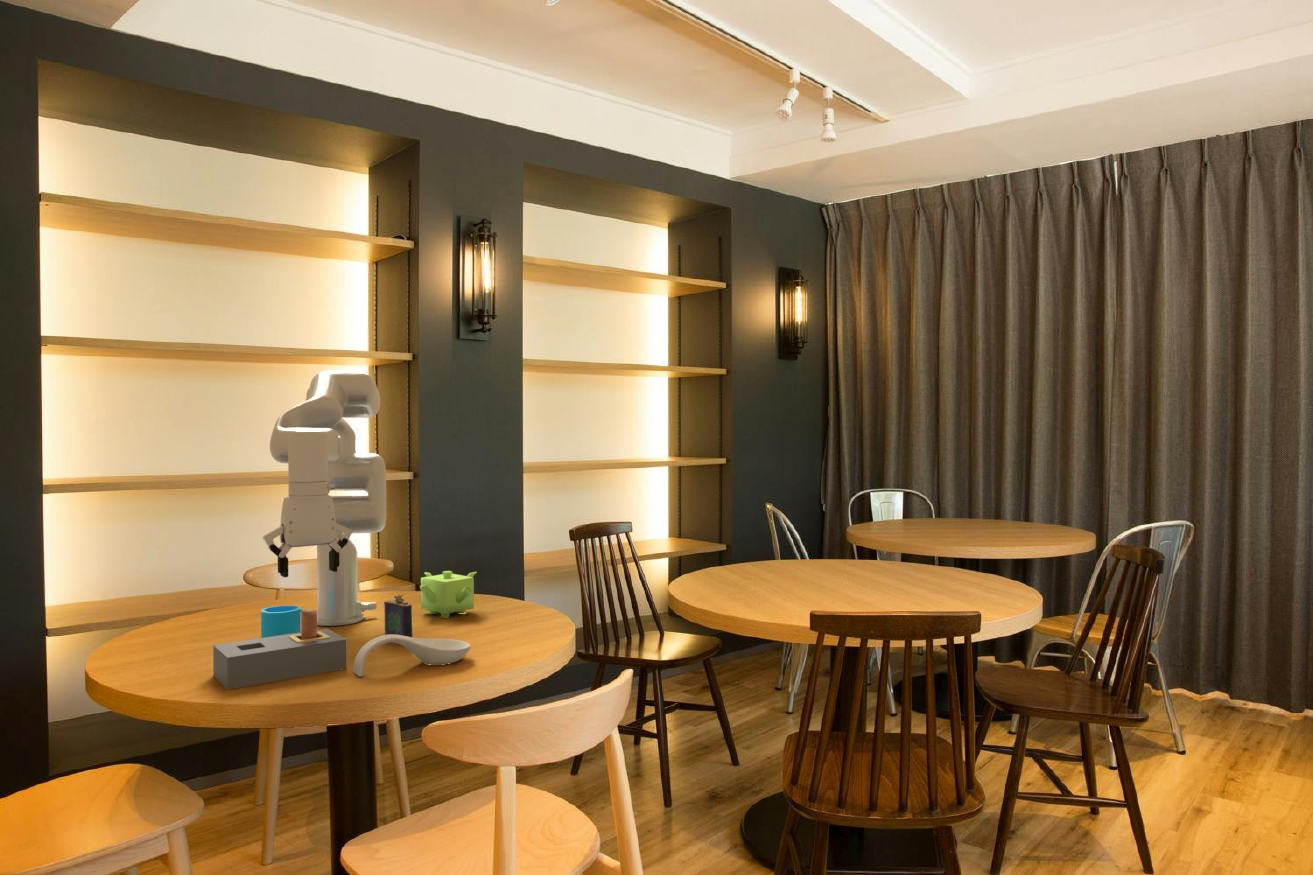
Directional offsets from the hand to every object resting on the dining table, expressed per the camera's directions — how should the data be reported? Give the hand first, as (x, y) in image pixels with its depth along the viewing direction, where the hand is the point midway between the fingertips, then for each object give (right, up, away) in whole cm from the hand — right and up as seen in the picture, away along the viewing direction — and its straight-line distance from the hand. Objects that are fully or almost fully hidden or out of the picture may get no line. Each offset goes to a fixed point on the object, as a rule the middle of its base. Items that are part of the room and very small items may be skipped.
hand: (309, 573), depth 174 cm
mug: (-12, -19, +19) cm, 30 cm away
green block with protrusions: (+16, -19, +51) cm, 57 cm away
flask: (+12, -19, +21) cm, 31 cm away
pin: (0, -18, 0) cm, 18 cm away
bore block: (-4, -19, -4) cm, 20 cm away
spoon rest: (+21, -20, +1) cm, 29 cm away
